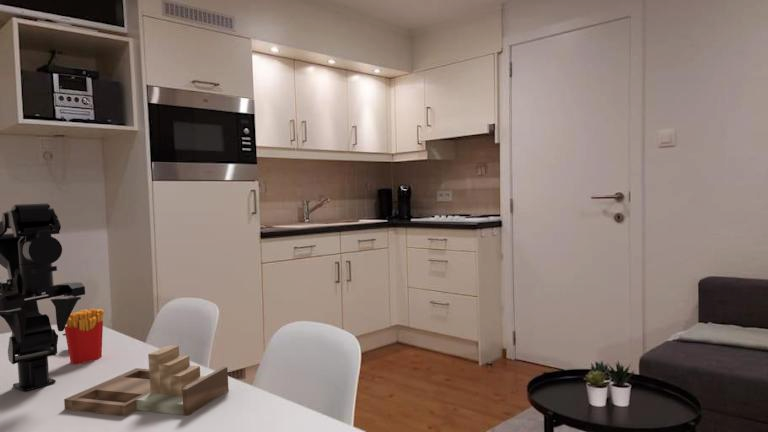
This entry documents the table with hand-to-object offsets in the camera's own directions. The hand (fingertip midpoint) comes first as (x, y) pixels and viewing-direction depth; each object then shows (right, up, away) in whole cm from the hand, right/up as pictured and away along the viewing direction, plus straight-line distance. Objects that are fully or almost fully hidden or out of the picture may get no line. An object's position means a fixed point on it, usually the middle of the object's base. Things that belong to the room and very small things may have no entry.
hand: (41, 336), depth 112 cm
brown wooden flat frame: (+25, -12, -2) cm, 28 cm away
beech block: (+31, -10, -4) cm, 33 cm away
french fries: (-5, -12, +27) cm, 30 cm away
